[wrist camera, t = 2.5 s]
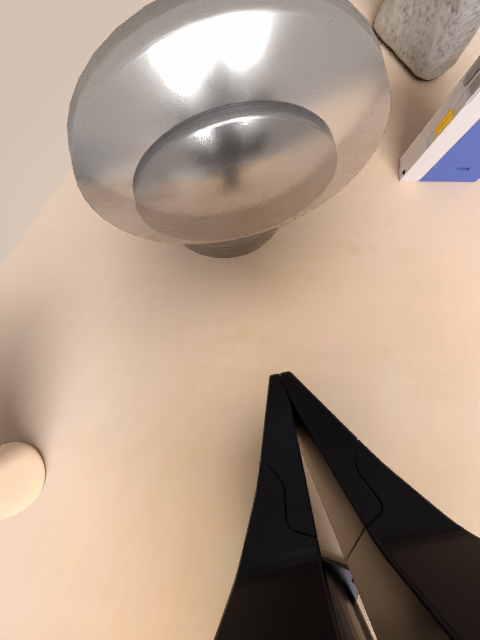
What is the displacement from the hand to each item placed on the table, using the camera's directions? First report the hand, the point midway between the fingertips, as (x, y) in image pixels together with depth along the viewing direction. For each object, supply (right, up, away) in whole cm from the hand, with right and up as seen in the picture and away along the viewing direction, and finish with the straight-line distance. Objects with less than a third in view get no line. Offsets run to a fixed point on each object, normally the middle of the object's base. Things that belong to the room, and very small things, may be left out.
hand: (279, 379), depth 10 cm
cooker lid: (-2, +10, +2) cm, 10 cm away
